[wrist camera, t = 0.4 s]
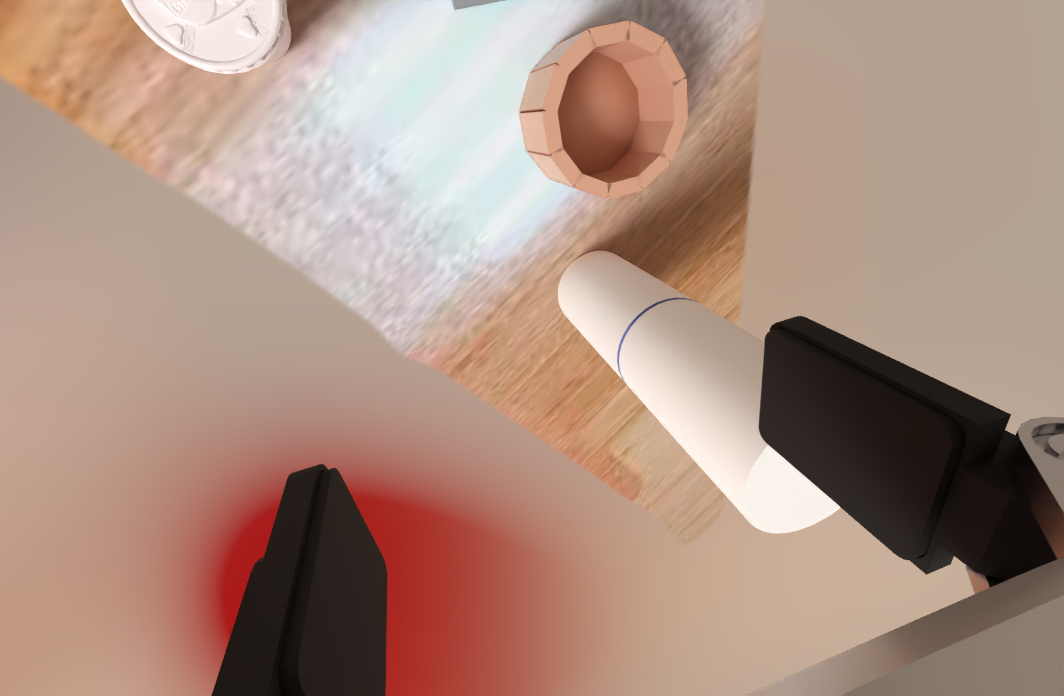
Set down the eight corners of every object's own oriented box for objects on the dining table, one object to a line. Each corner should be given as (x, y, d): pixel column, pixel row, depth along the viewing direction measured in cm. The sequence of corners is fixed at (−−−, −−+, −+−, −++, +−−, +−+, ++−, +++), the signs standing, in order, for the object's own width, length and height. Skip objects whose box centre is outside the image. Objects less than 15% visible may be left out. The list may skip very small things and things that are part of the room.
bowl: (507, 54, 32) (530, 40, 27) (639, 26, 33) (684, 8, 28) (535, 199, 37) (558, 212, 31) (648, 170, 38) (689, 177, 33)
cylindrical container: (569, 244, 39) (788, 394, 17) (641, 257, 41) (914, 405, 20) (549, 321, 42) (717, 536, 20) (618, 330, 44) (836, 530, 22)
